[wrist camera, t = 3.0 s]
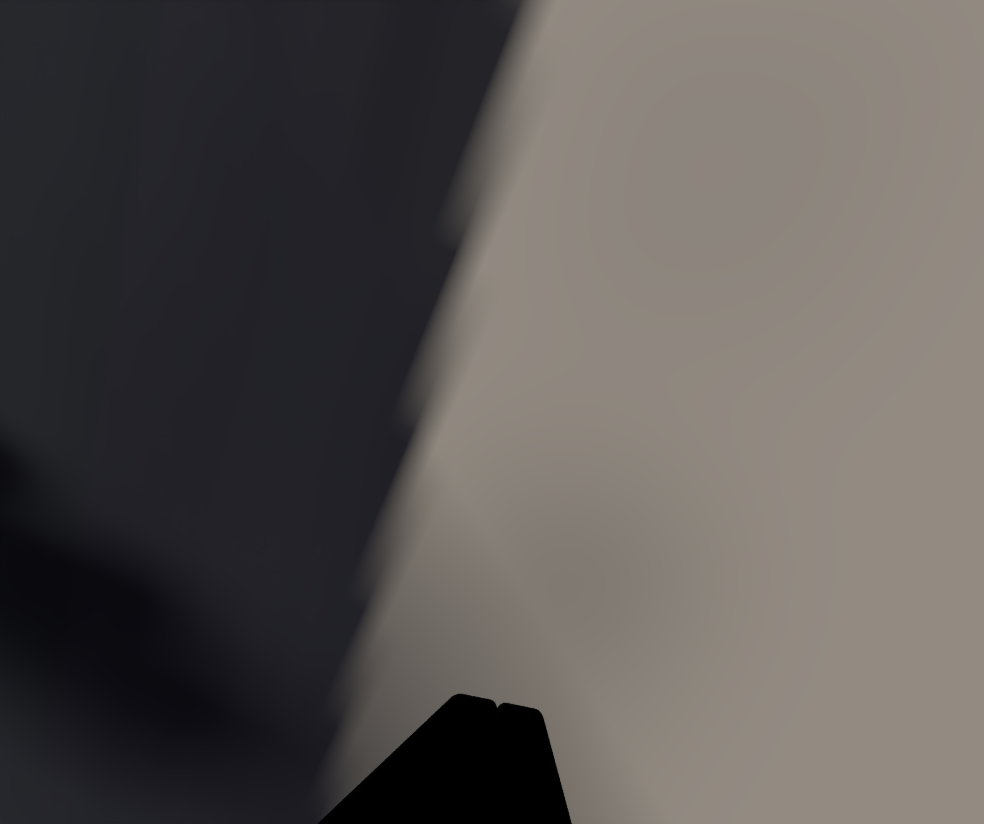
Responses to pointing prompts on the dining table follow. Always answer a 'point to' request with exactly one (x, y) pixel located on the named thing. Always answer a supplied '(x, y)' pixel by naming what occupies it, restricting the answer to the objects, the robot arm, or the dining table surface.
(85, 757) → the dining table surface
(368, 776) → the robot arm
